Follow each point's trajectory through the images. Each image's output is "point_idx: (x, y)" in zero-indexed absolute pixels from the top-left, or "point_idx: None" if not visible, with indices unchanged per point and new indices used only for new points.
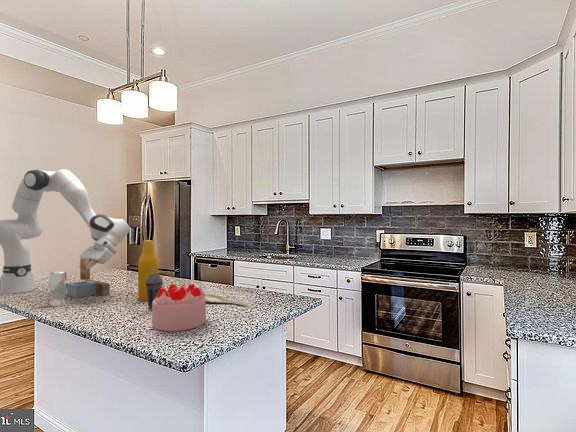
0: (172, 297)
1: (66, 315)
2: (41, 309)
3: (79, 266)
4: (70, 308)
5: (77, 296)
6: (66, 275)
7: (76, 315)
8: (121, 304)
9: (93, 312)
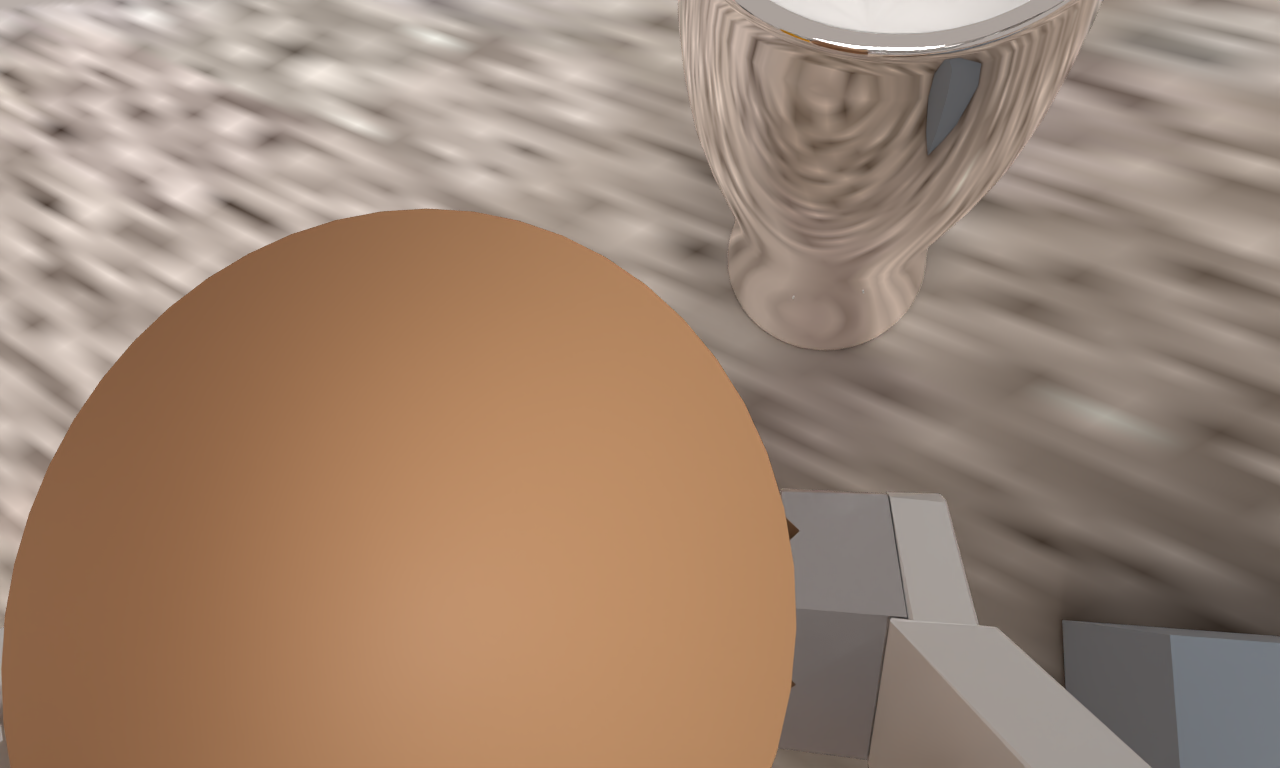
0: None
1: (241, 112)
2: None
3: (936, 499)
4: None
5: (1069, 646)
6: (734, 72)
7: (147, 169)
8: None
9: (80, 327)
